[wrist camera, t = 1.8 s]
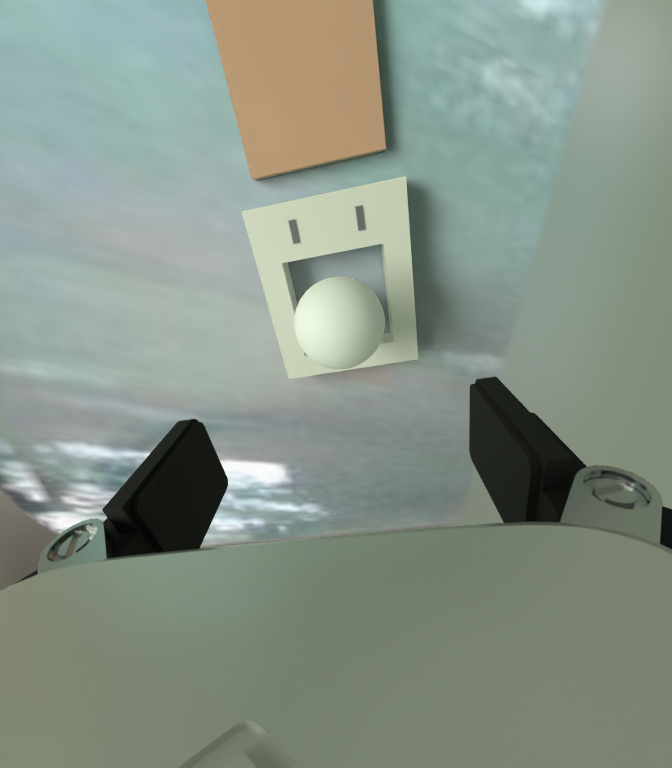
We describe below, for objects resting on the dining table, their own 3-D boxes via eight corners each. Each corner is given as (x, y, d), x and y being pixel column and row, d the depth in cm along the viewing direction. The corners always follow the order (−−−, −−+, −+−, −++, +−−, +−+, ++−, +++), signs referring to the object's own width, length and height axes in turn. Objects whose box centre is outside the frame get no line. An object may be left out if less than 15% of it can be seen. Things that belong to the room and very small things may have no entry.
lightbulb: (340, 245, 27) (336, 262, 17) (389, 296, 28) (411, 338, 19) (293, 298, 29) (266, 340, 19) (342, 343, 31) (339, 402, 21)
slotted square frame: (250, 211, 26) (241, 211, 23) (400, 179, 24) (406, 175, 22) (292, 367, 32) (288, 379, 30) (413, 348, 31) (418, 359, 28)
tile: (208, -5, 20) (202, -15, 19) (366, -51, 19) (367, -65, 18) (255, 180, 25) (252, 179, 24) (384, 151, 23) (386, 148, 23)
